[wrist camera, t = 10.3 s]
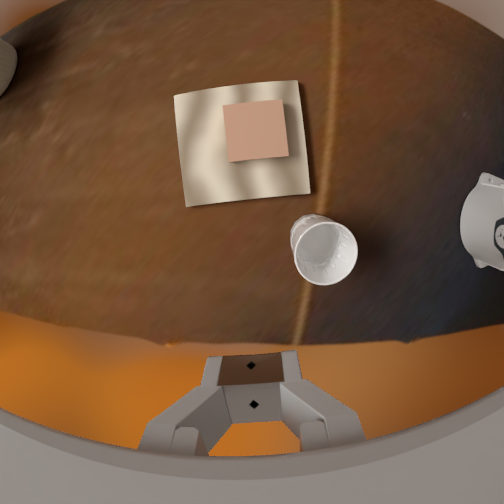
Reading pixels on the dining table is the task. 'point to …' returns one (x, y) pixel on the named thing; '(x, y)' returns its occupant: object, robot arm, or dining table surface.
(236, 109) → the block
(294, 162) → the board
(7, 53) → the canister
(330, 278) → the white cup
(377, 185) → the dining table surface
